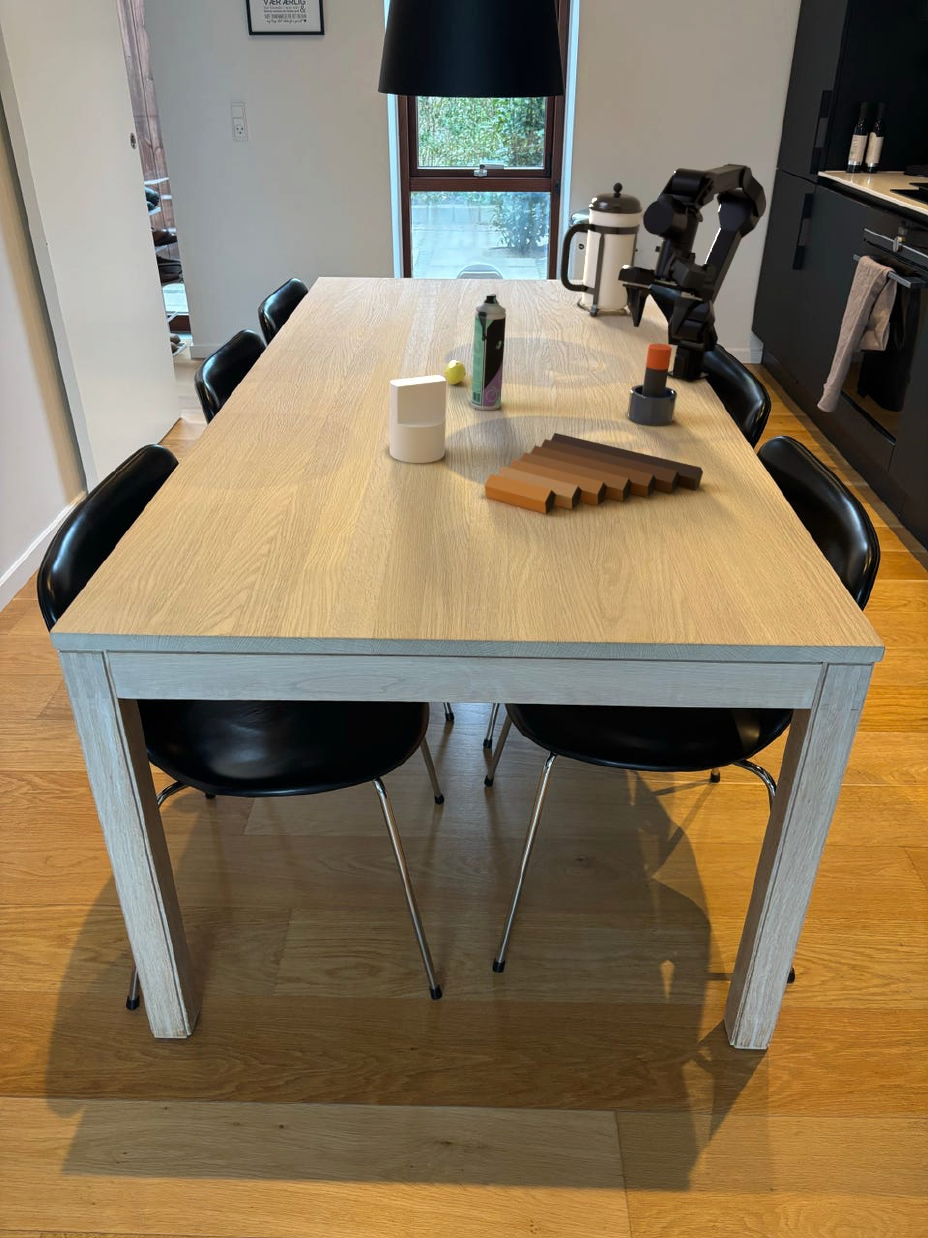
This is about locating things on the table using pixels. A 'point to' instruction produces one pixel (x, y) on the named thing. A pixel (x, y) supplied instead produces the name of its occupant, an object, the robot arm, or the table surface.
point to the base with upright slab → (418, 419)
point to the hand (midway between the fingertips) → (655, 330)
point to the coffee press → (605, 250)
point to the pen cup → (651, 407)
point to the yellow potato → (455, 372)
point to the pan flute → (585, 475)
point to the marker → (656, 370)
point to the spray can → (488, 354)
